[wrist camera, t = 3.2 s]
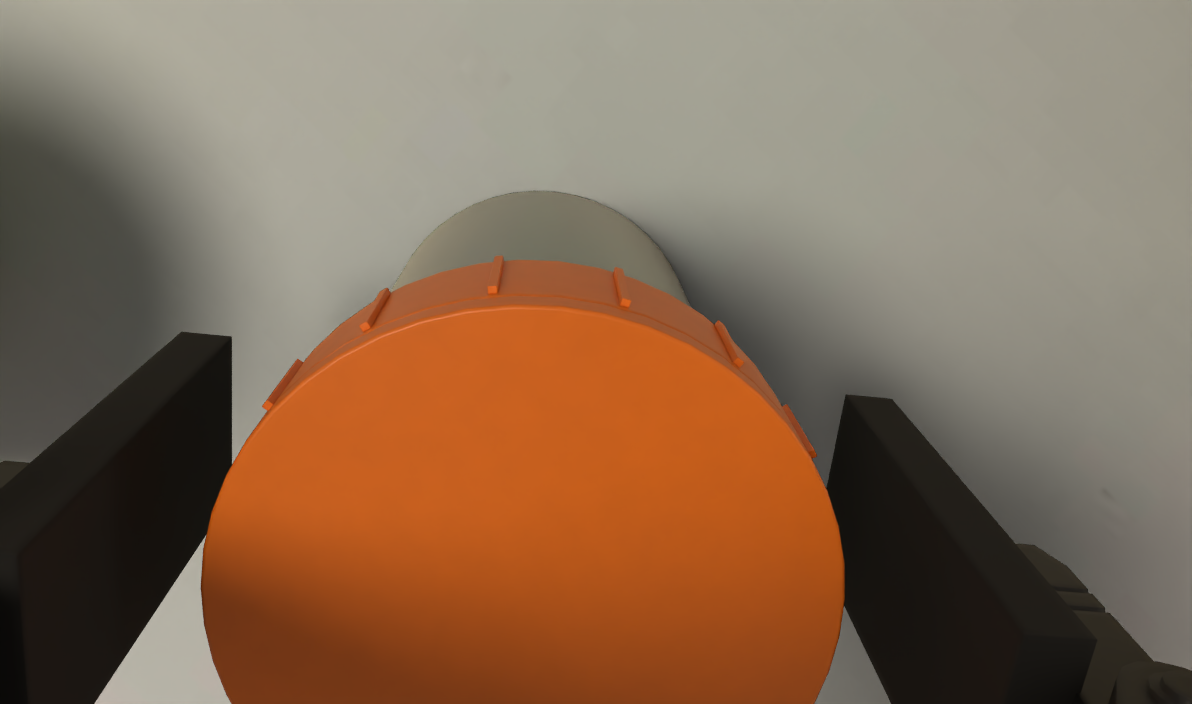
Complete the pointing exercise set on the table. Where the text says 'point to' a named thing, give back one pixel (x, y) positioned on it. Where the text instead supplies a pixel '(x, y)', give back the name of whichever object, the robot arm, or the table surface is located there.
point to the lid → (524, 509)
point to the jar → (542, 239)
